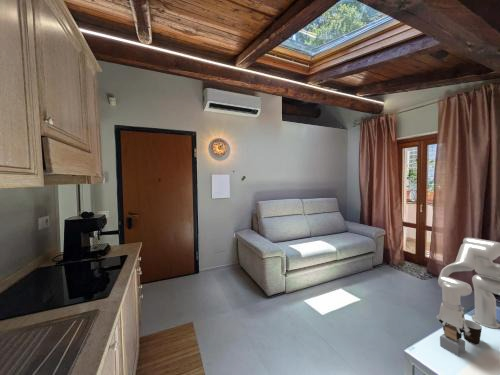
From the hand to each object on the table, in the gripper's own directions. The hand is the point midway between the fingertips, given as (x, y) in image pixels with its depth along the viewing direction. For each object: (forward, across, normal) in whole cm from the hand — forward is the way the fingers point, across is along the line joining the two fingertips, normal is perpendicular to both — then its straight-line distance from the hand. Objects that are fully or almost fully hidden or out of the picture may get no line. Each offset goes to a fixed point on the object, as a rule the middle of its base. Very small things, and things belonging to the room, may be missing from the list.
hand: (452, 335), depth 119 cm
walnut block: (0, 0, 0) cm, 0 cm away
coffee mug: (+8, -2, -18) cm, 20 cm away
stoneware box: (+8, 0, 0) cm, 8 cm away
